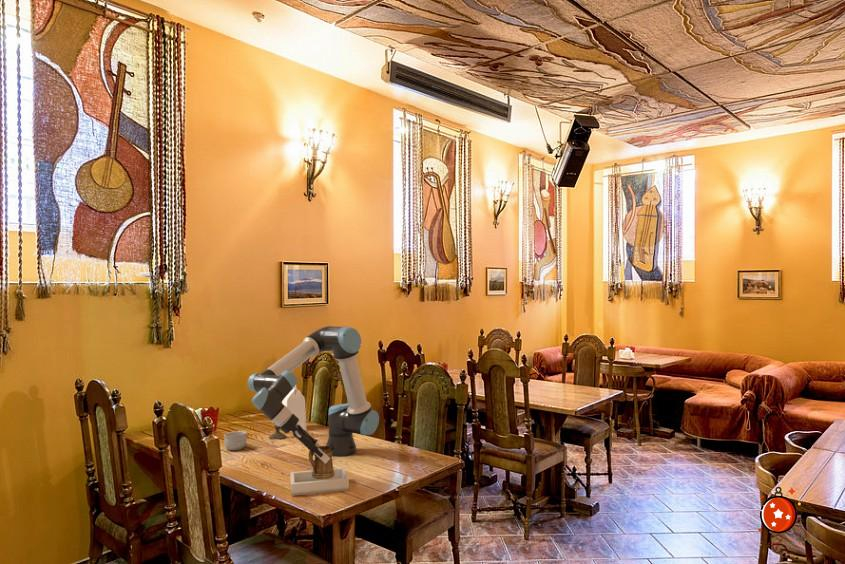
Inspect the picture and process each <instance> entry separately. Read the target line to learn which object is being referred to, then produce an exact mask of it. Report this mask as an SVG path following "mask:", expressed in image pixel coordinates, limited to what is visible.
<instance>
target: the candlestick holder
mask: <svg viewBox="0 0 845 564" xmlns="http://www.w3.org/2000/svg"><path fill="white" fill-rule="evenodd" d="M274 429H275V431H274V433H272V434H271V435H269V437H268V439H269V440H271V439H280V440H283V438H284V439H286V438H287V434H285V433H284V432H281V429H280V426H277V425H276V424H275V425H274ZM285 437H286V438H285Z"/></svg>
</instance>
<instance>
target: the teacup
mask: <svg viewBox="0 0 845 564" xmlns="http://www.w3.org/2000/svg"><path fill="white" fill-rule="evenodd" d="M223 437H224V439H223V440H224V447H225V449H228V450H229V451H230V450H233V452H234V451H235V450H236V451H240V450H242V449H244V447H245V446H246V444H247V431H244V430H237V431H230V432H227V433H225V434H223Z"/></svg>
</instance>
